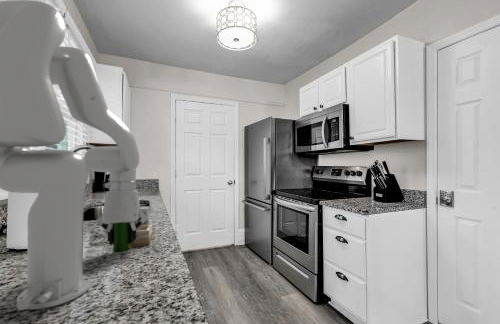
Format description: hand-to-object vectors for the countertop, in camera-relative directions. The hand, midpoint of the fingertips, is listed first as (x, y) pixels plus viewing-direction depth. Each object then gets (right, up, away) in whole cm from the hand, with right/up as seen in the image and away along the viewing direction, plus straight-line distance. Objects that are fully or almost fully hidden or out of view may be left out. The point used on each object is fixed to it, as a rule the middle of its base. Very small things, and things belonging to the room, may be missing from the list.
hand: (122, 242), depth 78 cm
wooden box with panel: (0, -3, +13) cm, 13 cm away
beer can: (0, -3, 0) cm, 3 cm away
